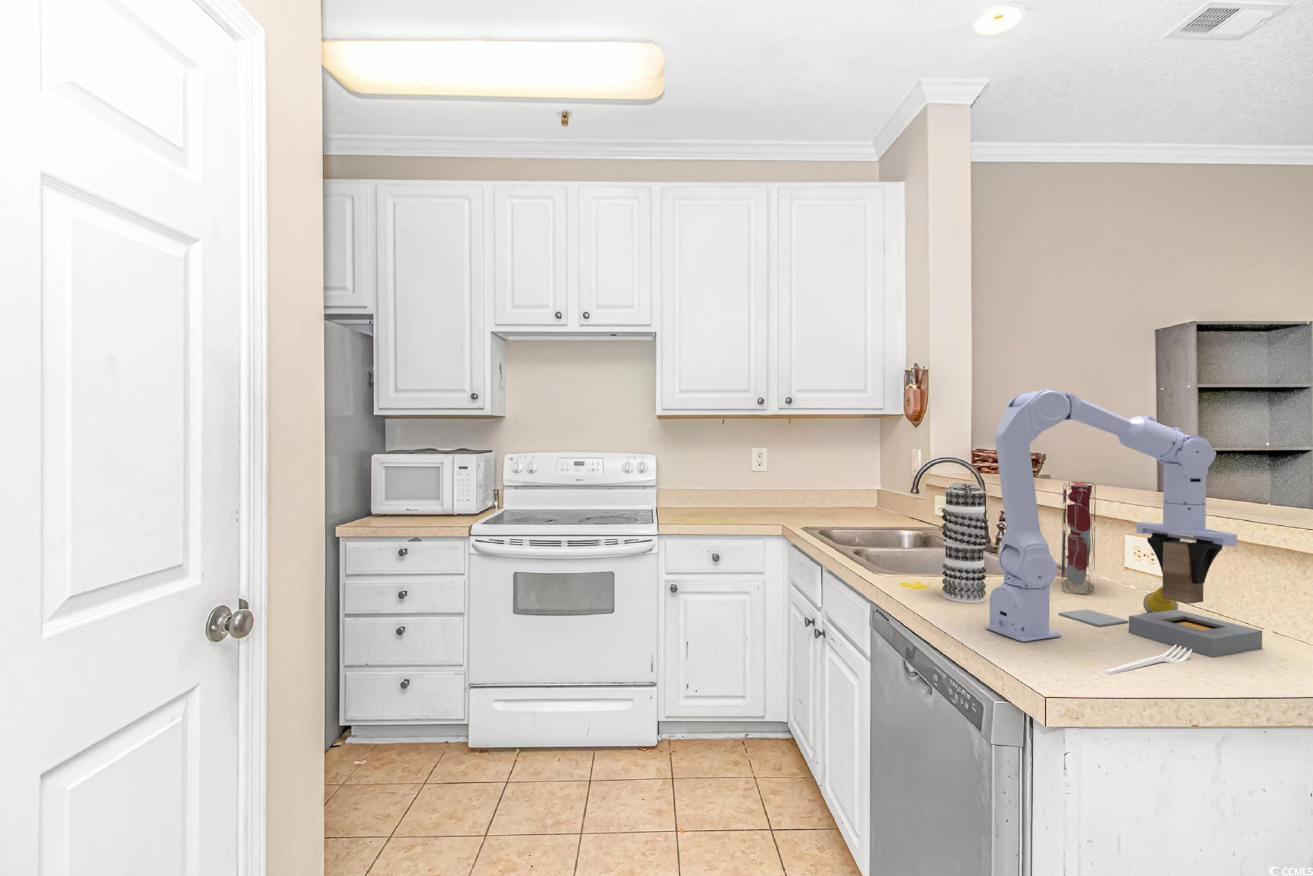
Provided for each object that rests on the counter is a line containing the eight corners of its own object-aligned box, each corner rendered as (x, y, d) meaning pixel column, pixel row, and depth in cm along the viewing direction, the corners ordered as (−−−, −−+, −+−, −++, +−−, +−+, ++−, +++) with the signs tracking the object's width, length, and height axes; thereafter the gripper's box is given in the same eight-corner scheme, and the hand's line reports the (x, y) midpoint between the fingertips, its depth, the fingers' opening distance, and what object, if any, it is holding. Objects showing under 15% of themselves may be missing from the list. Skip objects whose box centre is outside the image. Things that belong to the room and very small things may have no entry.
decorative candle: (938, 590, 142) (939, 482, 142) (983, 594, 139) (985, 483, 139) (942, 601, 133) (943, 485, 133) (990, 605, 130) (992, 486, 130)
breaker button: (1201, 639, 106) (1201, 634, 105) (1164, 629, 111) (1164, 625, 111) (1222, 636, 107) (1222, 631, 107) (1185, 626, 113) (1185, 622, 113)
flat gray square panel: (1098, 627, 116) (1098, 624, 116) (1058, 614, 124) (1058, 612, 124) (1128, 622, 119) (1128, 620, 119) (1087, 611, 126) (1087, 609, 126)
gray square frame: (1212, 657, 101) (1212, 638, 101) (1128, 632, 113) (1128, 616, 113) (1262, 648, 105) (1262, 630, 105) (1176, 625, 117) (1176, 609, 117)
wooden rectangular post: (1188, 603, 107) (1188, 545, 106) (1162, 598, 110) (1163, 542, 110) (1203, 601, 108) (1203, 544, 108) (1177, 595, 112) (1178, 540, 112)
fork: (1095, 672, 95) (1096, 660, 95) (1172, 654, 103) (1172, 643, 103) (1118, 680, 92) (1118, 668, 92) (1195, 661, 100) (1195, 650, 100)
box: (1093, 605, 131) (1095, 490, 130) (1059, 600, 134) (1060, 488, 134) (1094, 582, 151) (1096, 482, 151) (1064, 578, 154) (1065, 480, 154)
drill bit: (1184, 619, 122) (1187, 593, 117) (1155, 629, 123) (1157, 603, 118) (1163, 598, 127) (1165, 571, 121) (1136, 607, 128) (1137, 581, 122)
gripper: (1249, 506, 103) (1248, 588, 104) (1154, 498, 117) (1154, 569, 117) (1222, 508, 101) (1221, 591, 101) (1128, 499, 115) (1128, 572, 115)
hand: (1183, 580), depth 109 cm, fingers closed on wooden rectangular post, 4 cm apart
